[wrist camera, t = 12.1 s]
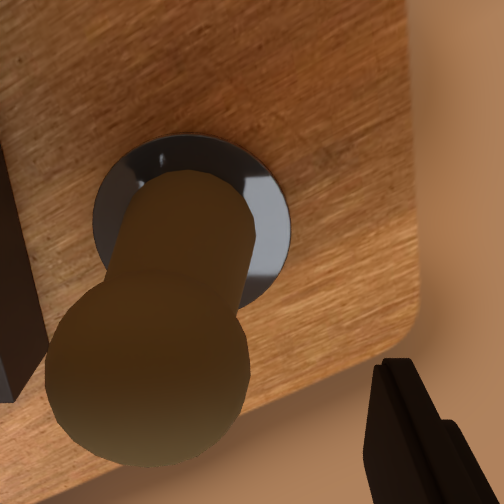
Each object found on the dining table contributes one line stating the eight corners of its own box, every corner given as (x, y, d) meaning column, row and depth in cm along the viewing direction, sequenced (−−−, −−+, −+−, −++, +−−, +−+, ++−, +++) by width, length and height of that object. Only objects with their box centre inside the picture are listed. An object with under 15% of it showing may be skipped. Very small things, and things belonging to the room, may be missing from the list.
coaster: (293, 130, 19) (294, 132, 18) (287, 311, 23) (288, 317, 22) (79, 133, 19) (76, 135, 18) (110, 315, 22) (107, 320, 22)
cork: (109, 271, 21) (-15, 475, 11) (141, 149, 19) (22, 265, 8) (231, 307, 22) (221, 526, 12) (276, 196, 19) (311, 350, 9)
